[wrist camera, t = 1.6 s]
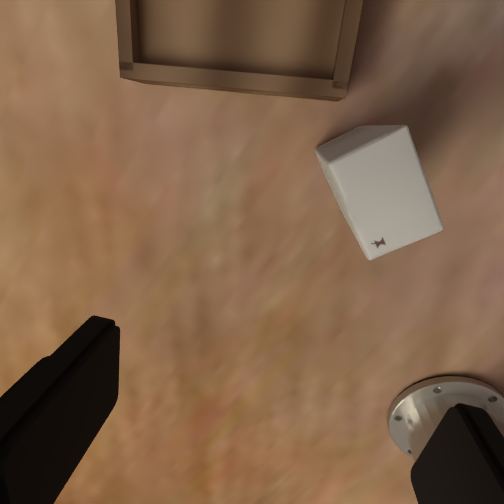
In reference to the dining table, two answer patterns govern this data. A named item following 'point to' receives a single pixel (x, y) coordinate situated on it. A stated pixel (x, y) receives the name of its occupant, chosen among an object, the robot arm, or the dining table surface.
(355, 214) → the skincare box
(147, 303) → the dining table surface
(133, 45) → the wooden tray
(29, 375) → the robot arm
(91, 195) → the dining table surface
